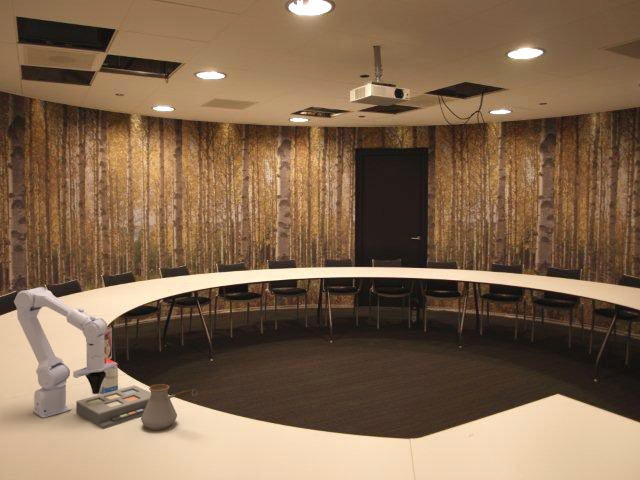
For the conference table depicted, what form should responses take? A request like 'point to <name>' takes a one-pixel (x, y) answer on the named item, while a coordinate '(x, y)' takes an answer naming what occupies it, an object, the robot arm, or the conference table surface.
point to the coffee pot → (160, 408)
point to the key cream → (113, 404)
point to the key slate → (129, 392)
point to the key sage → (95, 401)
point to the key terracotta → (130, 399)
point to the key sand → (113, 397)
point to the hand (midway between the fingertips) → (95, 393)
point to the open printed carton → (108, 344)
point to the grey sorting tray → (116, 414)
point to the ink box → (109, 379)
